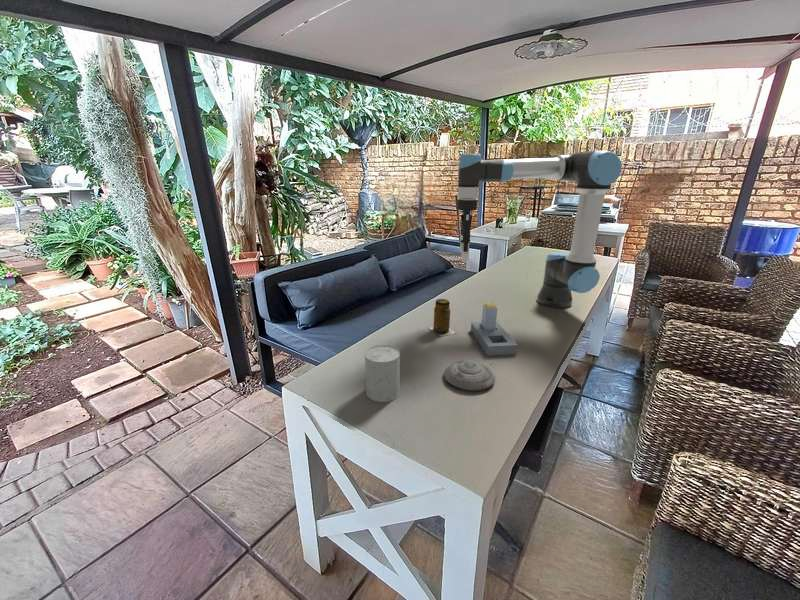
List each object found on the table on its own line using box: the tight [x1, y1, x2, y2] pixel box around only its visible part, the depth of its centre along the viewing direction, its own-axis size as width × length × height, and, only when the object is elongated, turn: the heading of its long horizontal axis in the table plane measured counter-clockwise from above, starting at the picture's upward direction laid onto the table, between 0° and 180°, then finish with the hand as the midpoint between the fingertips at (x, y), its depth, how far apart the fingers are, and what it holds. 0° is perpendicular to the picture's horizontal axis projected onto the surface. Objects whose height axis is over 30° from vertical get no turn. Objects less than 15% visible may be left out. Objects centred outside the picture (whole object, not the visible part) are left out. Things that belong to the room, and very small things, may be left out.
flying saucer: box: [443, 359, 496, 391], centre depth 109 cm, size 15×15×6 cm
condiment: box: [428, 298, 457, 337], centre depth 140 cm, size 7×8×12 cm
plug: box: [481, 301, 498, 330], centre depth 135 cm, size 4×4×12 cm
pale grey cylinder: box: [364, 344, 401, 403], centre depth 102 cm, size 10×10×12 cm
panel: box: [470, 320, 518, 357], centre depth 132 cm, size 10×20×4 cm, turn 6°
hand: (463, 255), depth 142 cm, fingers open, 13 cm apart
